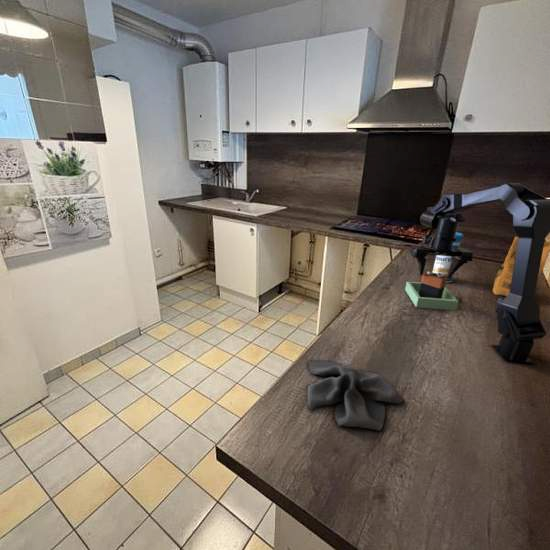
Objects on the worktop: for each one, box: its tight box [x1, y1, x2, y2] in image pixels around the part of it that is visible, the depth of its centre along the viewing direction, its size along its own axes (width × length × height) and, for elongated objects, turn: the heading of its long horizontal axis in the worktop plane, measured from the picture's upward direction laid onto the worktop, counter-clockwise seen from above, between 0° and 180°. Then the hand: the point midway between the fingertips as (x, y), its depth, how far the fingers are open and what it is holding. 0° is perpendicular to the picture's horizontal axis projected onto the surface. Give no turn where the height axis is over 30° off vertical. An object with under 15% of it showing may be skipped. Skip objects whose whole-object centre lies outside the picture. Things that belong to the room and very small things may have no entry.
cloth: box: [307, 360, 403, 432], centre depth 63 cm, size 22×19×6 cm
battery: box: [418, 270, 447, 299], centre depth 104 cm, size 4×7×10 cm, turn 42°
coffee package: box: [491, 236, 550, 297], centre depth 107 cm, size 10×12×22 cm
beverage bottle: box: [432, 231, 464, 284], centre depth 120 cm, size 8×8×20 cm
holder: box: [404, 281, 460, 311], centre depth 105 cm, size 14×13×4 cm
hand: (434, 276), depth 102 cm, fingers open, 9 cm apart
